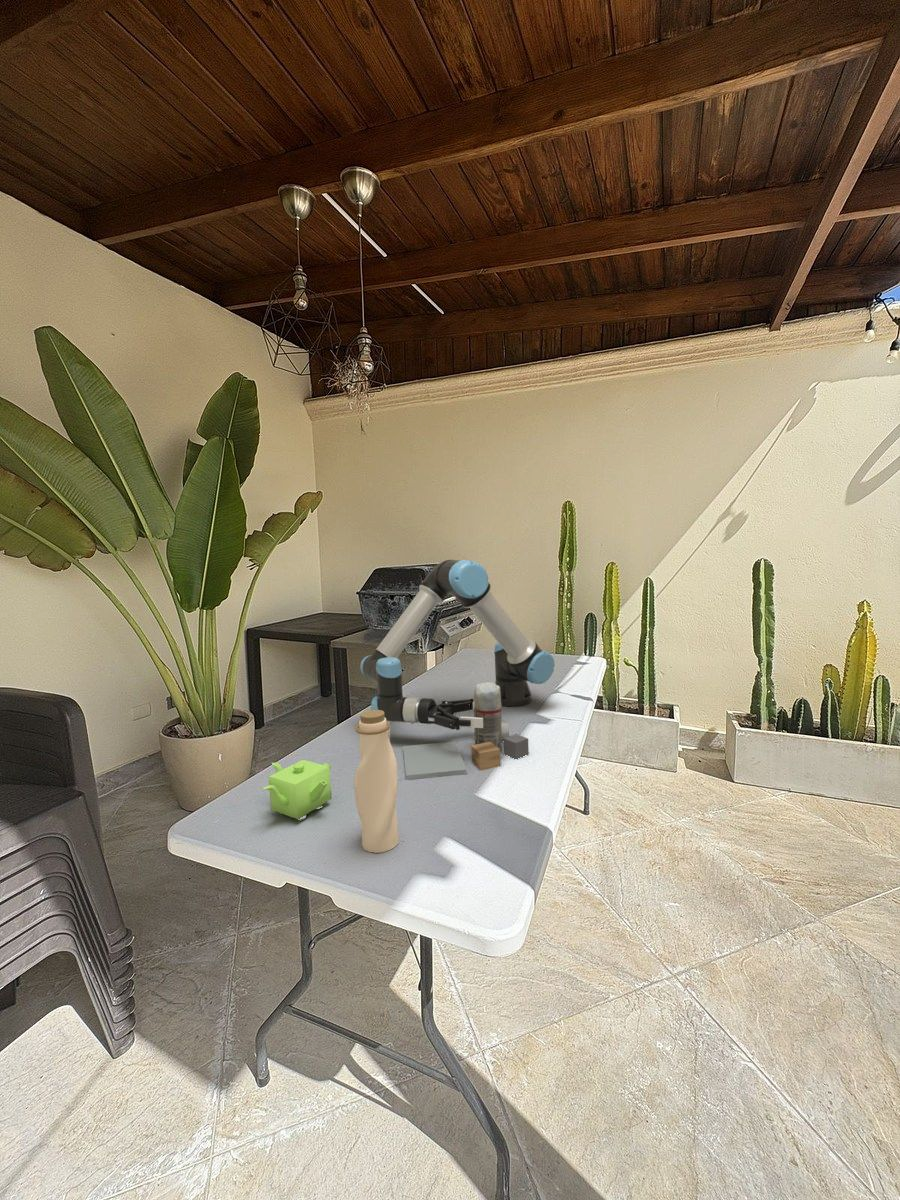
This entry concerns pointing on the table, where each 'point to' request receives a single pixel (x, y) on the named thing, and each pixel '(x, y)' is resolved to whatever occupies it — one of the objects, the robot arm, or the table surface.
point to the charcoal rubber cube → (516, 746)
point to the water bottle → (376, 783)
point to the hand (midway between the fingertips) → (488, 714)
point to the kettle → (299, 788)
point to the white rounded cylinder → (504, 729)
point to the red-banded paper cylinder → (488, 713)
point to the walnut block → (485, 755)
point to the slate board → (433, 760)
